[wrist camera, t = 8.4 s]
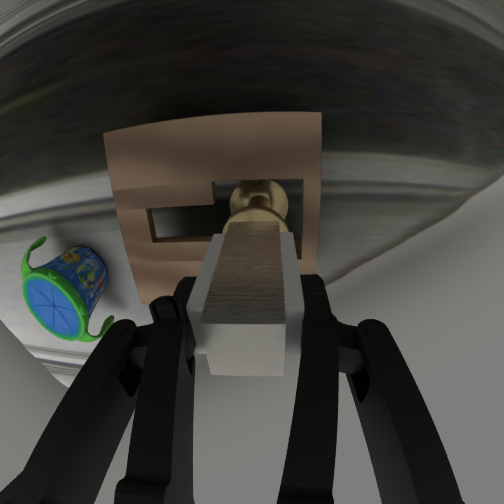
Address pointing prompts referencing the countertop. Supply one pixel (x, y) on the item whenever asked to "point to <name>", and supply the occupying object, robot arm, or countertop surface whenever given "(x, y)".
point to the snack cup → (65, 292)
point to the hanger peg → (248, 286)
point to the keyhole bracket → (206, 182)
